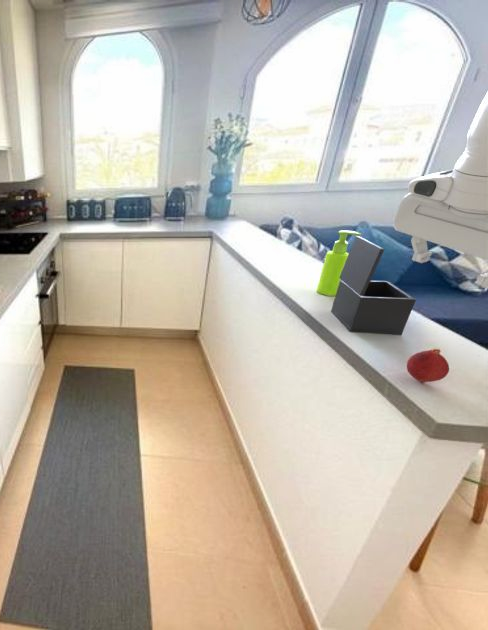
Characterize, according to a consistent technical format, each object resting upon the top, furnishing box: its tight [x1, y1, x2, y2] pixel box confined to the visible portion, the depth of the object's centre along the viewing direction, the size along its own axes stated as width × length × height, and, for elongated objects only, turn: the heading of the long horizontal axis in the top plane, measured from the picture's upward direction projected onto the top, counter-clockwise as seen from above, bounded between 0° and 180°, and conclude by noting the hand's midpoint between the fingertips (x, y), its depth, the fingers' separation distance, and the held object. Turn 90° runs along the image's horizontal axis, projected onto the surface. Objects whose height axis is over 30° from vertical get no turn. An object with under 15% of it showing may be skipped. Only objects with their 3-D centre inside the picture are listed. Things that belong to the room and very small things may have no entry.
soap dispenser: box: [316, 230, 362, 297], centre depth 107 cm, size 6×7×20 cm
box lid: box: [339, 235, 385, 296], centre depth 88 cm, size 12×13×1 cm
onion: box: [406, 347, 450, 384], centre depth 69 cm, size 6×6×8 cm
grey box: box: [330, 280, 417, 336], centre depth 91 cm, size 11×13×10 cm
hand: (449, 272), depth 57 cm, fingers open, 8 cm apart
